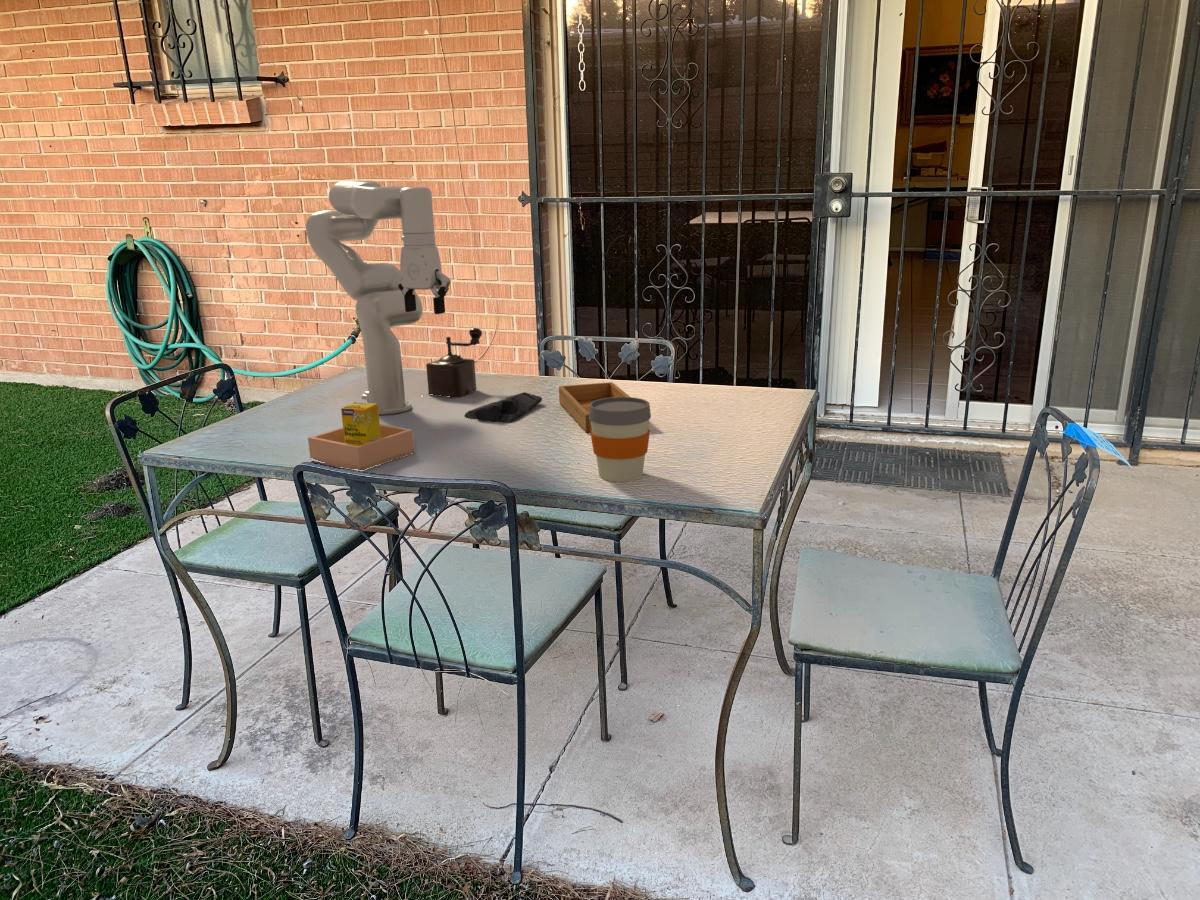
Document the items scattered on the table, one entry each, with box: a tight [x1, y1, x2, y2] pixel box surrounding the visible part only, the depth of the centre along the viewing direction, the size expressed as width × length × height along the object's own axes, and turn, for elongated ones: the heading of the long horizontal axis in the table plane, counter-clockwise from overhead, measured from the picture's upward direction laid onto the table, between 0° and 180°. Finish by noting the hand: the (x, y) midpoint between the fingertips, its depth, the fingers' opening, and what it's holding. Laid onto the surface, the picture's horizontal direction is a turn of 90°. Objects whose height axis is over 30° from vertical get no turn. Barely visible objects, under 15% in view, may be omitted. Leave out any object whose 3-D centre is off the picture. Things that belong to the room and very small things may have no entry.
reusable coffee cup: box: [589, 396, 652, 483], centre depth 178 cm, size 13×13×15 cm
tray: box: [558, 381, 631, 434], centre depth 225 cm, size 31×15×6 cm, turn 15°
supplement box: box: [340, 401, 381, 446], centre depth 194 cm, size 6×6×11 cm
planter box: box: [307, 423, 415, 470], centre depth 195 cm, size 16×16×6 cm
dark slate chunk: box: [463, 391, 543, 423], centre depth 233 cm, size 15×22×5 cm
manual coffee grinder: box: [425, 327, 483, 398], centre depth 255 cm, size 16×11×18 cm
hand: (425, 312), depth 214 cm, fingers open, 9 cm apart
